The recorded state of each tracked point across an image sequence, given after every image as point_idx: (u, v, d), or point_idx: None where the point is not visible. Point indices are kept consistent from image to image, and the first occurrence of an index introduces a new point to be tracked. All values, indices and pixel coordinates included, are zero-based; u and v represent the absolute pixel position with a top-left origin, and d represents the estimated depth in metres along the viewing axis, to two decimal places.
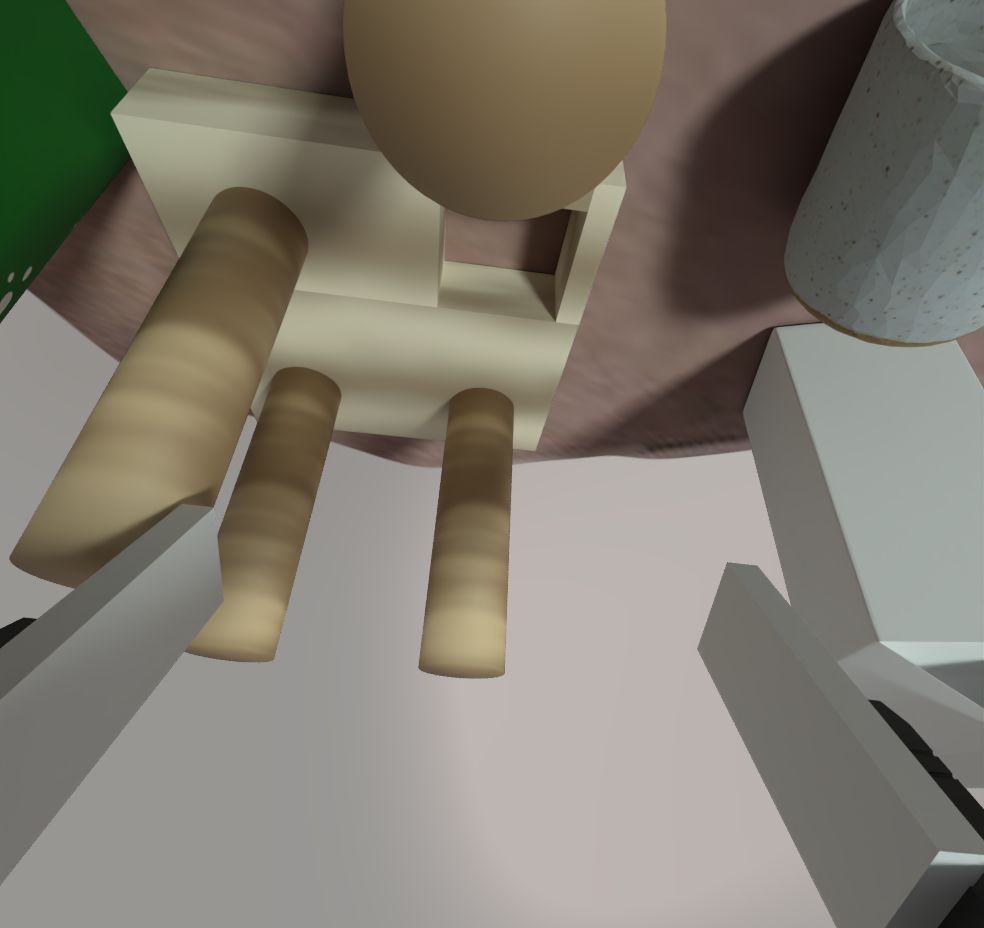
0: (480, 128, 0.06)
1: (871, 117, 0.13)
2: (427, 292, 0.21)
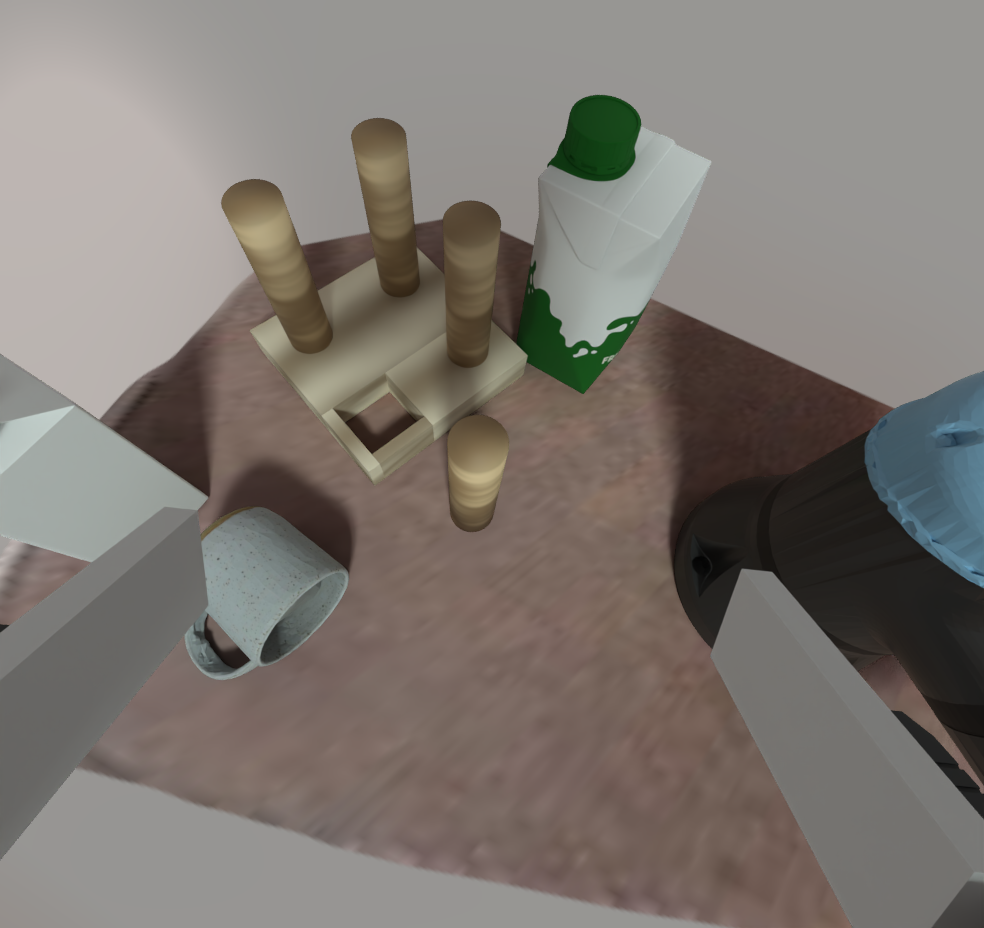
0: (474, 433, 0.28)
1: (327, 554, 0.34)
2: (394, 376, 0.41)
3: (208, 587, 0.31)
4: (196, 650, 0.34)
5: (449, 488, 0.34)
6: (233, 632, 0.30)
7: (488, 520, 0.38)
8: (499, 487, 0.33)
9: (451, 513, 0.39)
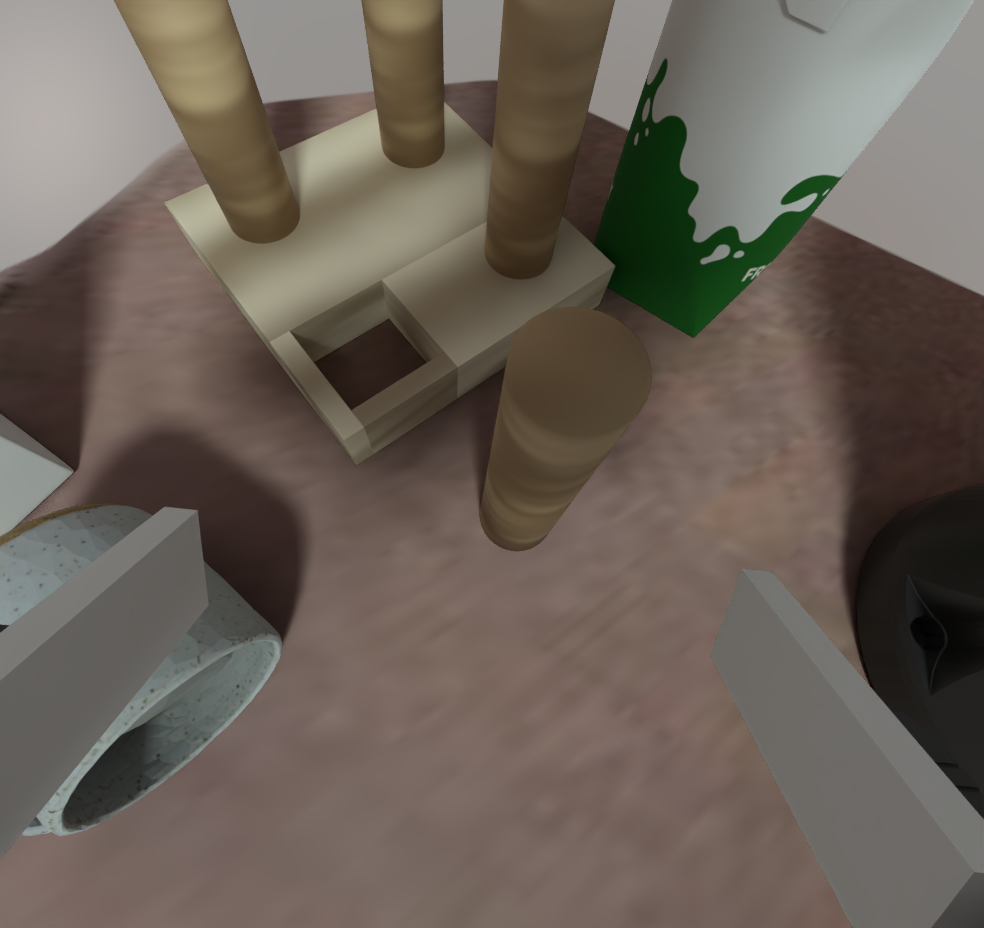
0: (570, 346, 0.12)
1: (238, 602, 0.18)
2: (397, 285, 0.25)
3: None
4: None
5: (489, 474, 0.18)
6: None
7: None
8: None
9: (483, 518, 0.22)
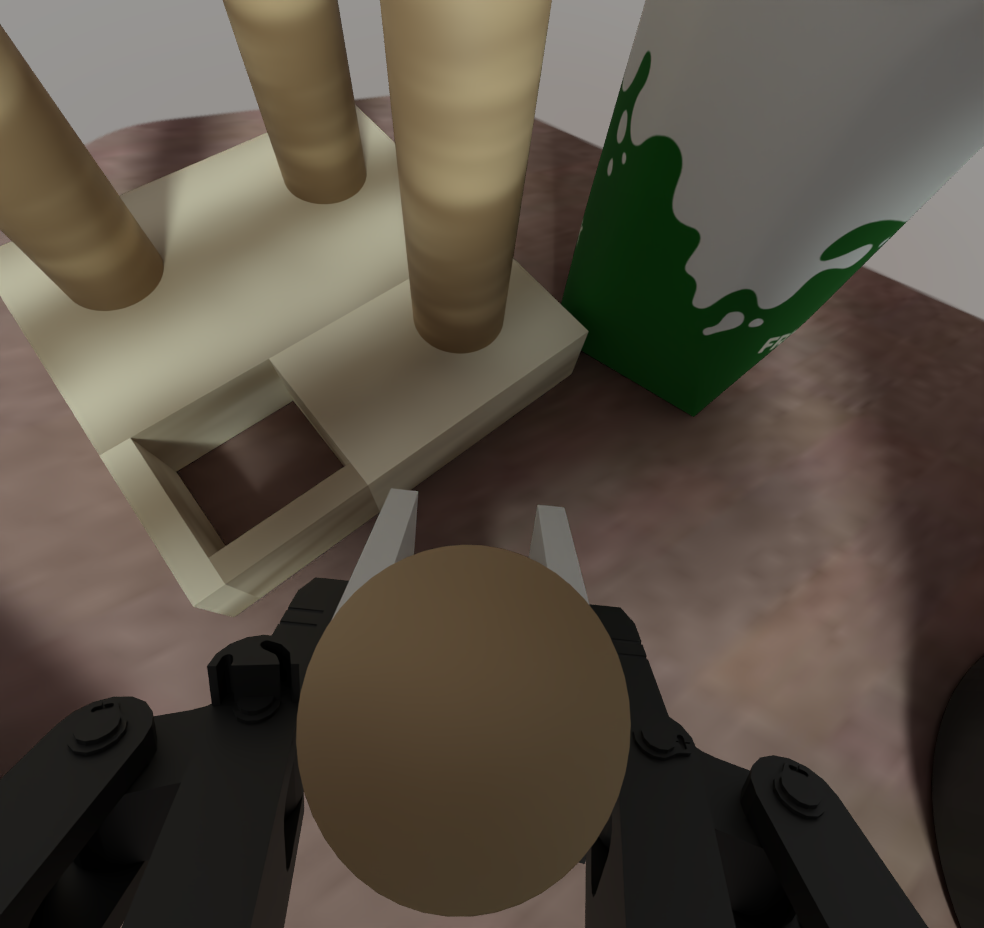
0: (448, 651, 0.05)
1: None
2: (290, 366, 0.18)
3: None
4: None
5: None
6: None
7: None
8: None
9: None
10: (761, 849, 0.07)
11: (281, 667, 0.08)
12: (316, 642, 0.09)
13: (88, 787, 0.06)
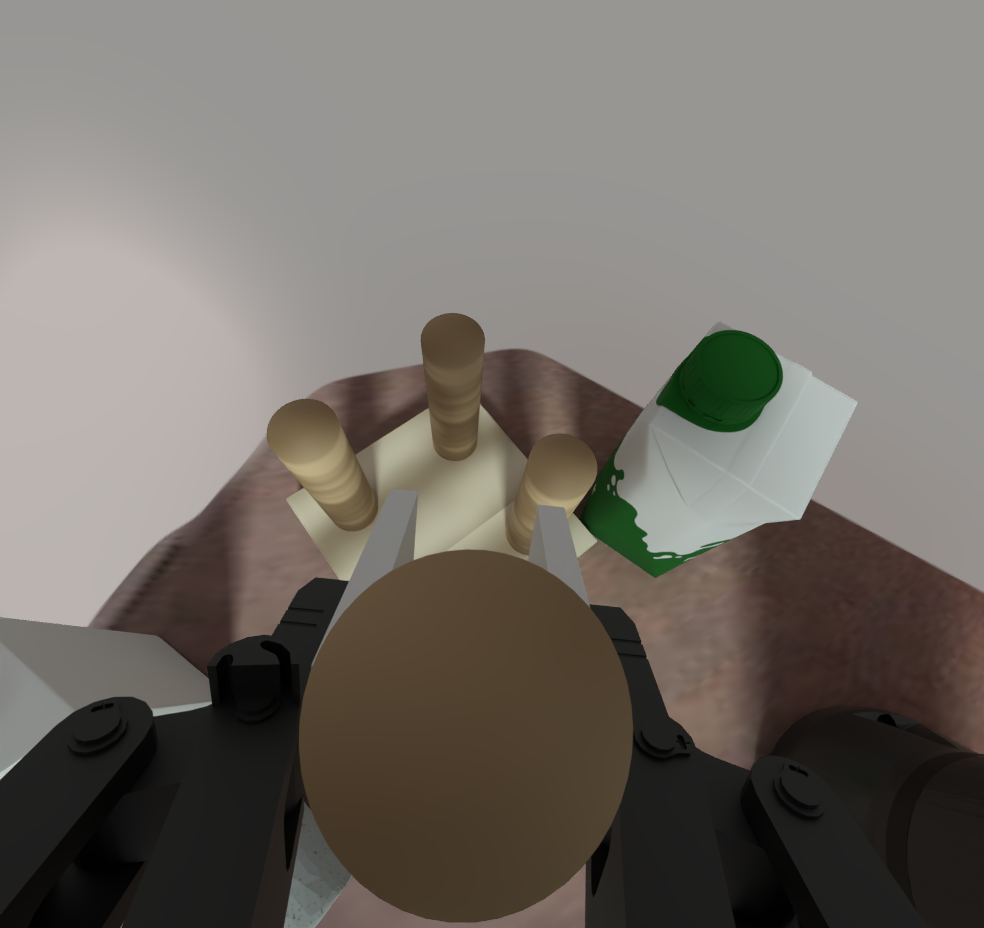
0: (451, 656, 0.05)
1: None
2: None
3: None
4: None
5: None
6: None
7: None
8: None
9: None
10: (761, 849, 0.07)
11: (281, 667, 0.08)
12: (316, 642, 0.09)
13: (88, 787, 0.06)
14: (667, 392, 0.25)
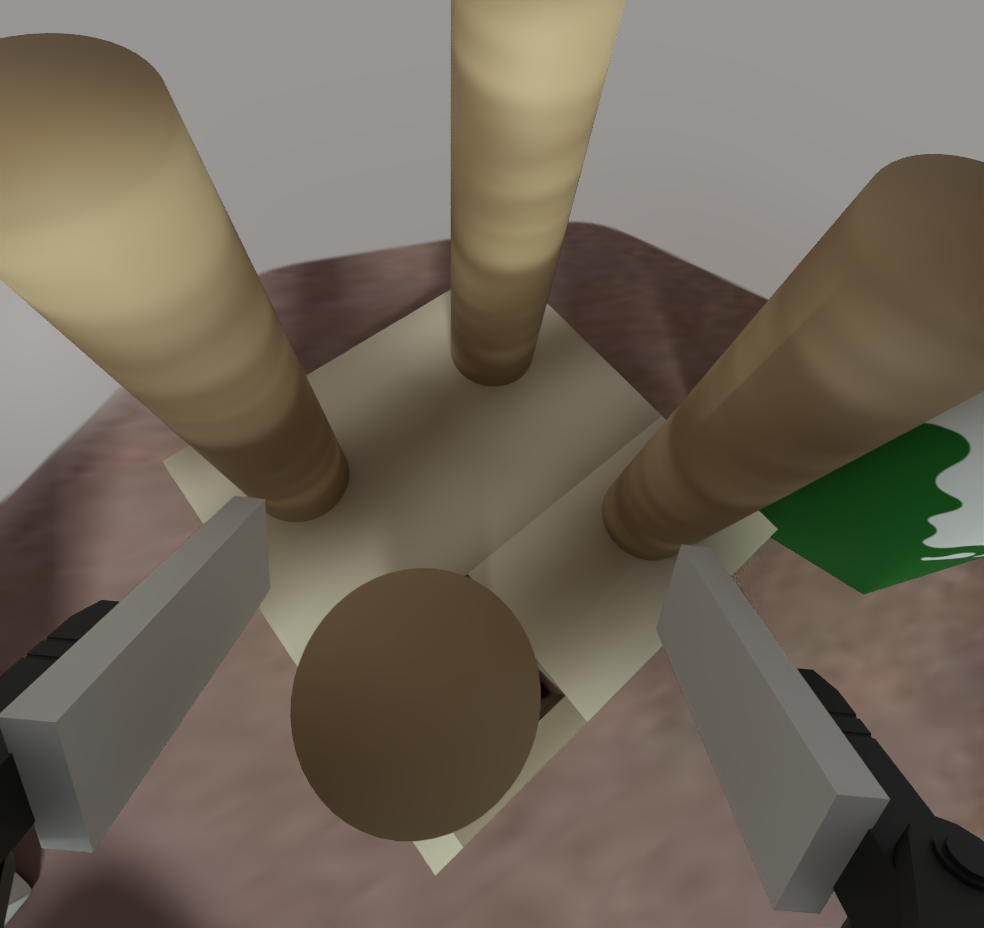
0: (404, 649, 0.07)
1: None
2: (490, 582, 0.18)
3: None
4: None
5: None
6: None
7: None
8: None
9: None
10: None
11: None
12: None
13: None
14: None
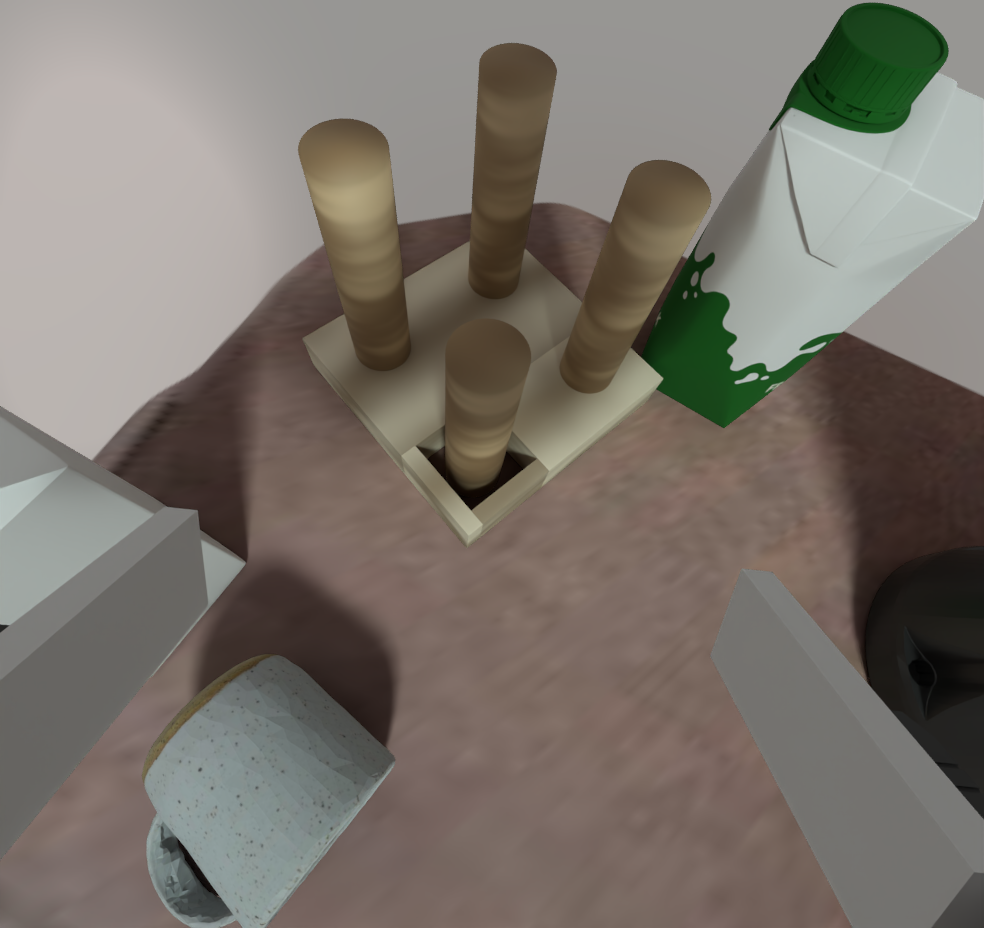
0: (483, 342, 0.20)
1: (367, 736, 0.23)
2: None
3: (182, 815, 0.19)
4: (163, 873, 0.23)
5: (445, 433, 0.26)
6: (219, 891, 0.19)
7: (493, 482, 0.30)
8: (511, 431, 0.26)
9: (447, 472, 0.31)
10: None
11: None
12: None
13: None
14: (793, 97, 0.20)
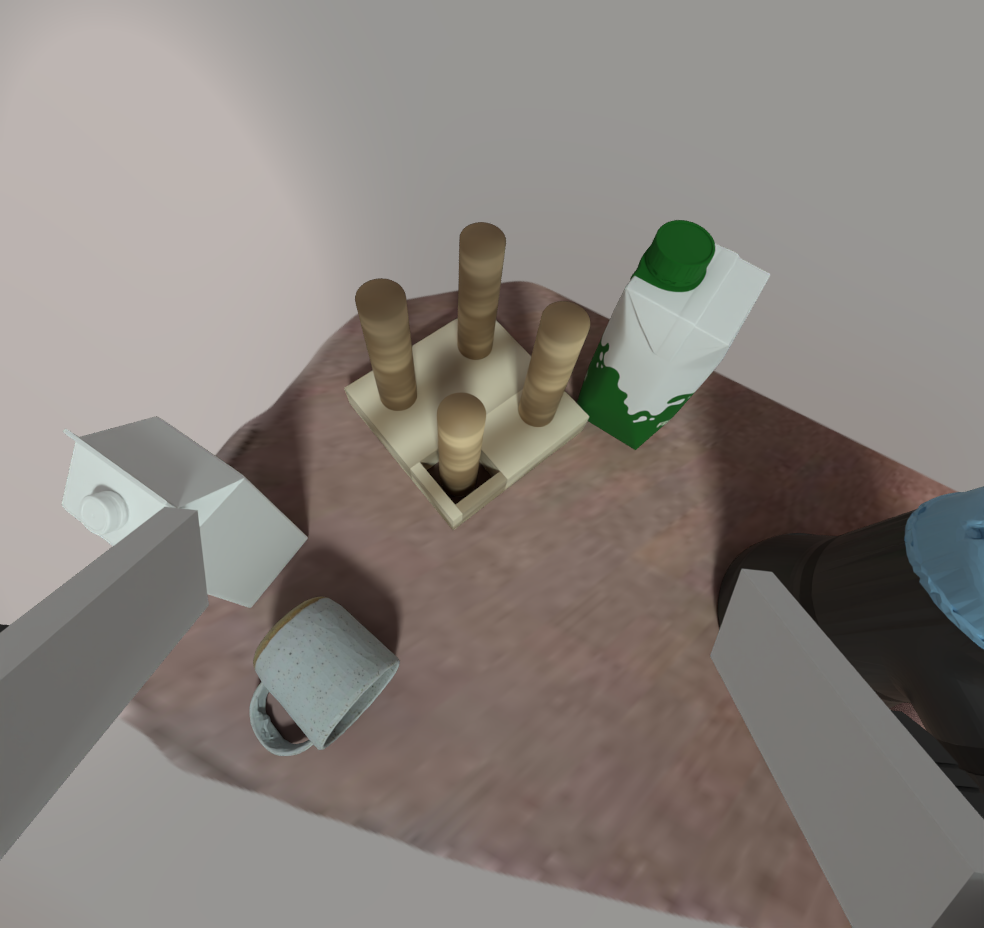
0: (458, 406, 0.36)
1: (382, 645, 0.37)
2: None
3: (280, 679, 0.34)
4: (259, 726, 0.38)
5: None
6: (300, 721, 0.34)
7: (471, 486, 0.46)
8: (479, 455, 0.41)
9: (440, 479, 0.46)
10: None
11: None
12: None
13: None
14: (637, 268, 0.35)
